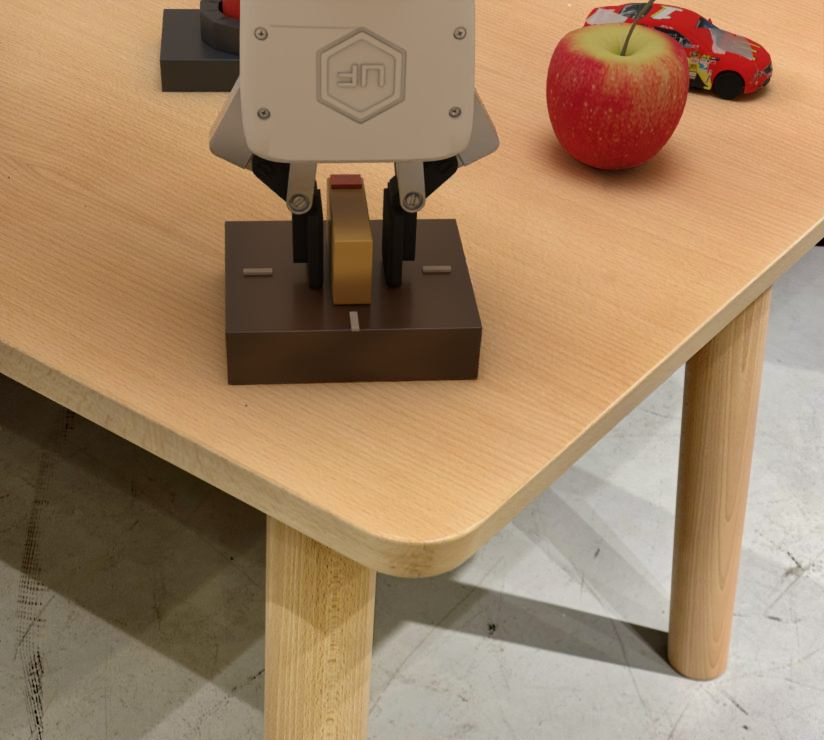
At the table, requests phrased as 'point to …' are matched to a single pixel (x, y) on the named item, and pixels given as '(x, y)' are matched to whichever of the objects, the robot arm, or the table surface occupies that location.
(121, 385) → the table surface
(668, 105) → the apple
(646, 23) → the race car
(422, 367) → the plate
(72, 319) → the table surface
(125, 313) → the table surface
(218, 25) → the button box
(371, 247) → the lock
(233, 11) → the release button
